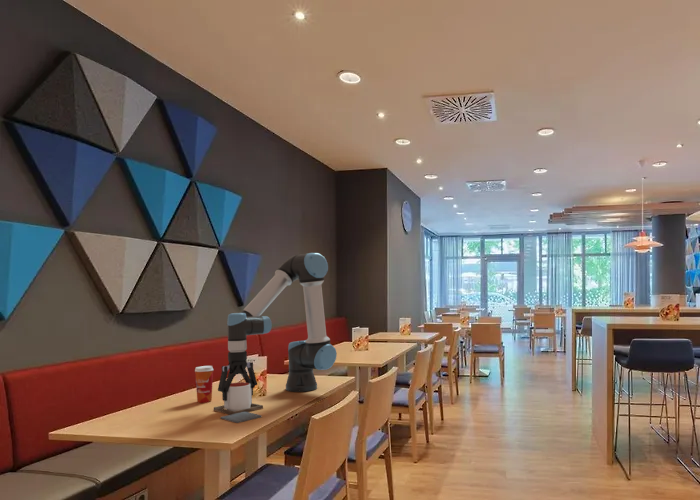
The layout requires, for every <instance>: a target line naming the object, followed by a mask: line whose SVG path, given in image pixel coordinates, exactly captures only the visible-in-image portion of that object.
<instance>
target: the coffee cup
mask: <svg viewBox="0 0 700 500" xmlns="http://www.w3.org/2000/svg"><path fill="white" fill-rule="evenodd" d="M194 372H195V373H194V374H195V385H196V386H195V388H196V402H197V403H198V404H205V403H211V402H212V400H213V399H212V398H213V378H214V368H213V365H203V366H202V365H201V366H196V367H195V369H194Z"/></svg>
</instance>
